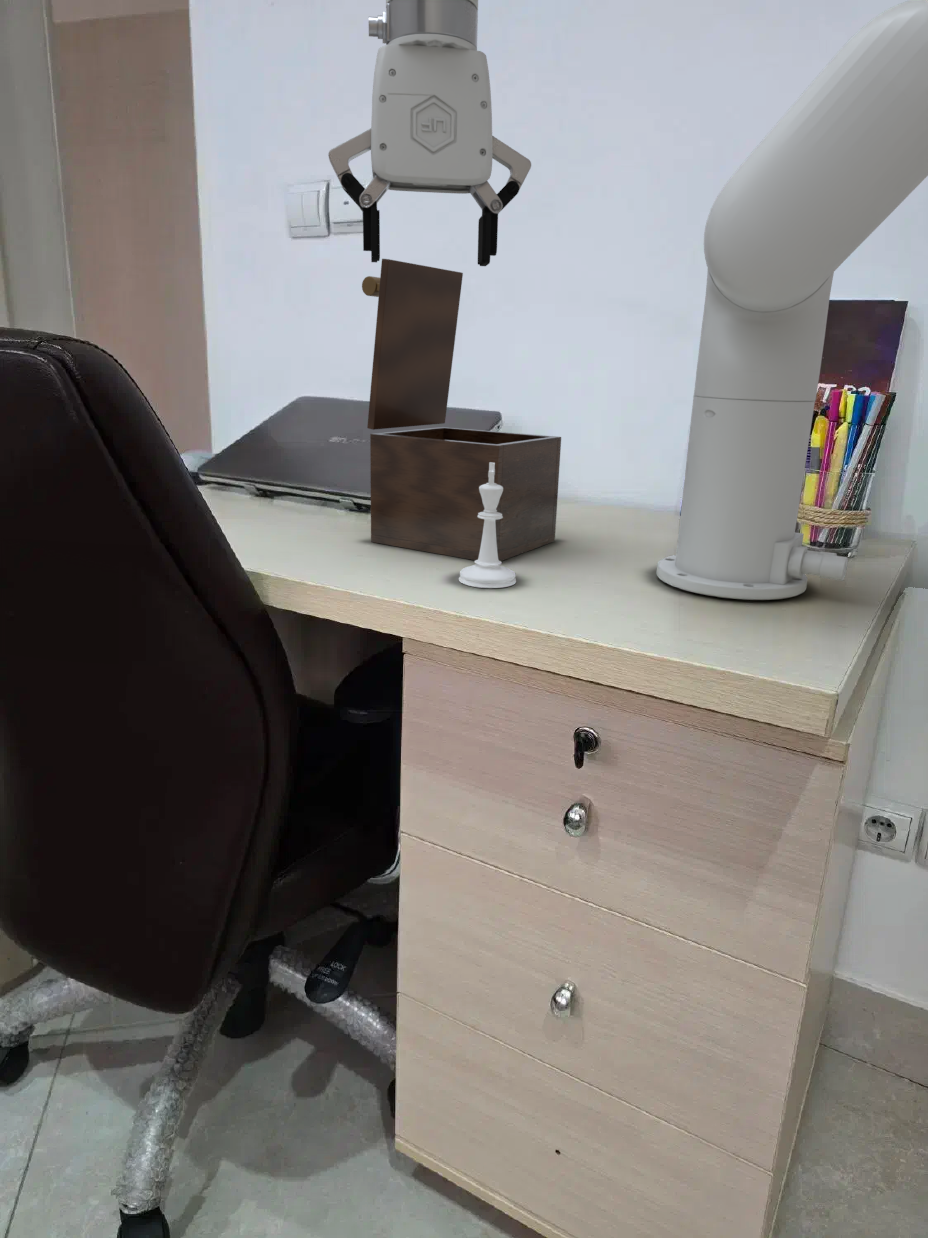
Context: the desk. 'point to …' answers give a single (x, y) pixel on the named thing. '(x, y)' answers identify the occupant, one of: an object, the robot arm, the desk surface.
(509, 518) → the box
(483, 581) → the chess piece
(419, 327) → the lid
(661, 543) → the desk surface
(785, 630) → the desk surface
